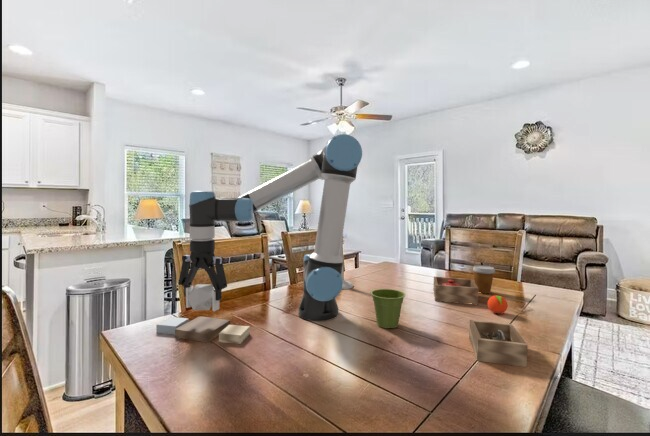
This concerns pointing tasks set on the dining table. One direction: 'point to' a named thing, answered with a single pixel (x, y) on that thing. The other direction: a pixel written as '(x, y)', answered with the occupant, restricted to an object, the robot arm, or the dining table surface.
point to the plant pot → (387, 306)
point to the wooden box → (455, 290)
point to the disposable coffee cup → (483, 277)
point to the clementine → (497, 304)
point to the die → (201, 297)
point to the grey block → (170, 325)
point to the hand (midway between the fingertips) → (202, 308)
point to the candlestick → (345, 283)
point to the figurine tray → (497, 344)
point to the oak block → (234, 334)
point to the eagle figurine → (500, 335)
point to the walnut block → (201, 329)
